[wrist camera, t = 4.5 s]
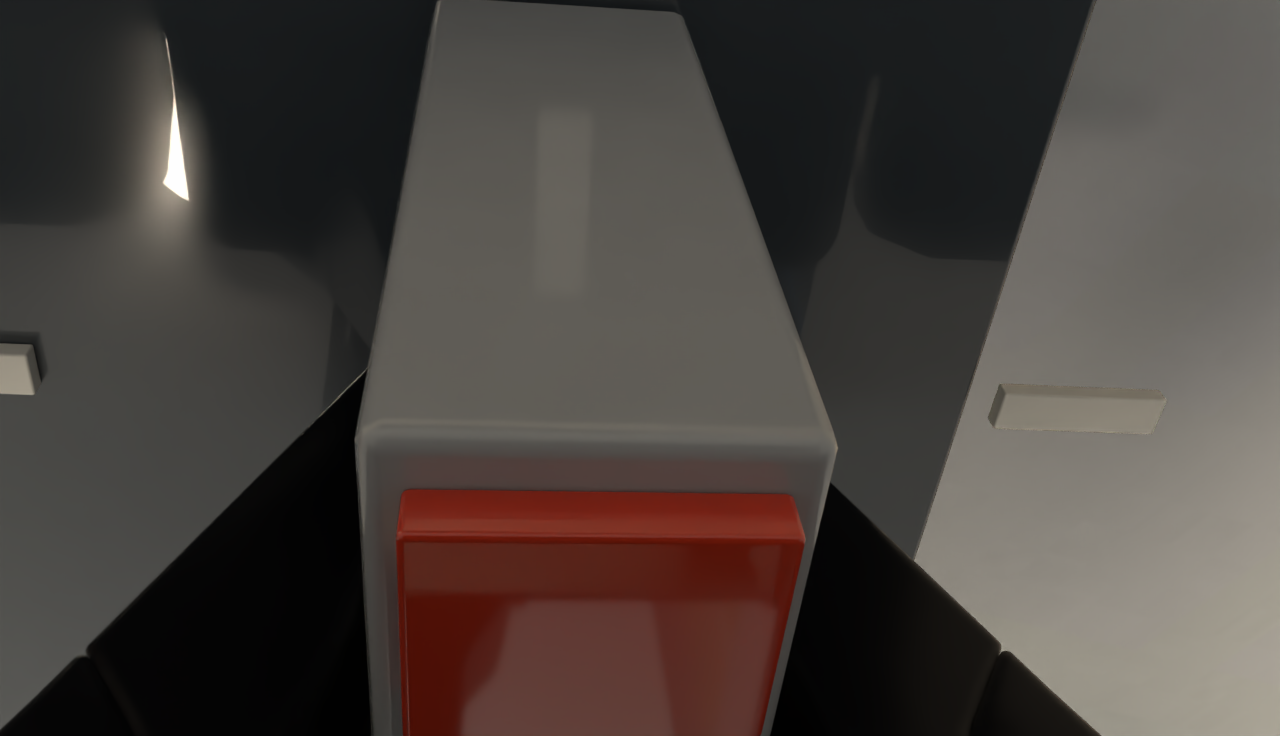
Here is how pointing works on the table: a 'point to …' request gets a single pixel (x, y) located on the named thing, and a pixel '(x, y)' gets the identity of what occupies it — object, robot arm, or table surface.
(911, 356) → the dark grey flat block
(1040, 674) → the table surface
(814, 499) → the grey and red block
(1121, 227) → the table surface
